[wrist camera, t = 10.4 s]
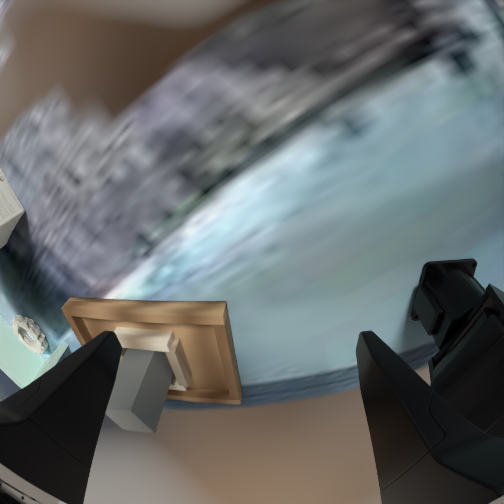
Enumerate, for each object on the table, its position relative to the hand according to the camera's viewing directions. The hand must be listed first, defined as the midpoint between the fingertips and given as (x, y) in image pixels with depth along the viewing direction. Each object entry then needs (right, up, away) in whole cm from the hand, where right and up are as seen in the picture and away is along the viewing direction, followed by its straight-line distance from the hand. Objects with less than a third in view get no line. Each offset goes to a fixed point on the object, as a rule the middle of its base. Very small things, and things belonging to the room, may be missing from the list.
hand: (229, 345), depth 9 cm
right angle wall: (-33, -8, +22) cm, 40 cm away
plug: (-10, -8, +19) cm, 23 cm away
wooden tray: (-10, -8, +20) cm, 23 cm away
